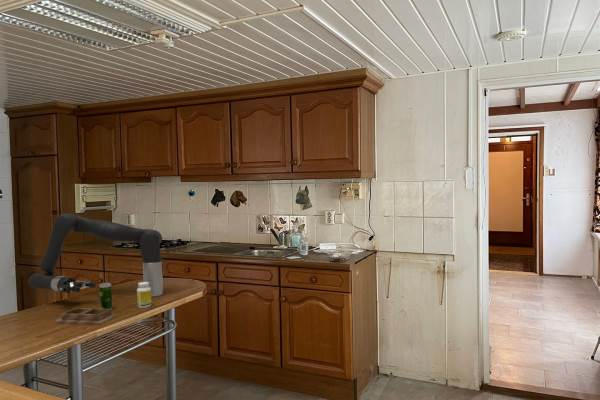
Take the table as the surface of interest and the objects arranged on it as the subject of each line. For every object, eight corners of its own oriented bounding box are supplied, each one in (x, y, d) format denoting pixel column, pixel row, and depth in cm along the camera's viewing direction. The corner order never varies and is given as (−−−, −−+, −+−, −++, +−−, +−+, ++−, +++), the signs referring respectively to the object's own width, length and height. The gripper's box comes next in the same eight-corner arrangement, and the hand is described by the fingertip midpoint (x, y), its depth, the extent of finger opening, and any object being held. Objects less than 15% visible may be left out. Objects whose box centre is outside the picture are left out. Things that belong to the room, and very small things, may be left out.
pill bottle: (154, 304, 209) (153, 281, 209) (145, 308, 203) (144, 284, 203) (143, 304, 211) (142, 281, 211) (134, 307, 206) (133, 284, 205)
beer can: (109, 307, 207) (108, 282, 206) (114, 309, 203) (113, 283, 203) (97, 310, 203) (96, 284, 202) (103, 312, 199) (102, 285, 199)
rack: (55, 323, 185) (54, 315, 185) (74, 314, 197) (73, 306, 197) (100, 325, 182) (100, 316, 181) (117, 315, 193) (117, 308, 193)
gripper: (49, 279, 207) (73, 282, 200) (76, 273, 220) (99, 276, 213) (50, 295, 208) (74, 299, 201) (76, 288, 220) (100, 291, 214)
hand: (87, 287), depth 207 cm, fingers open, 8 cm apart
